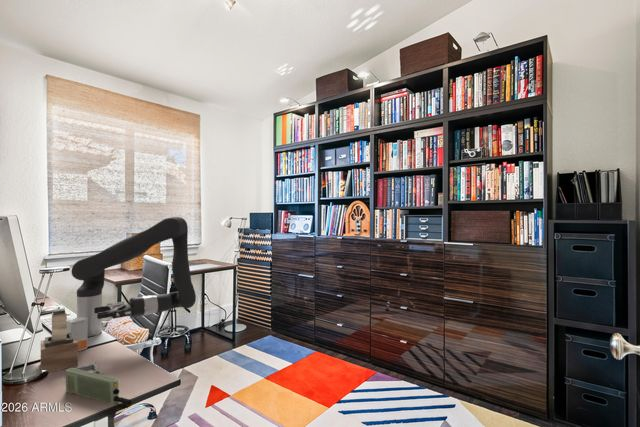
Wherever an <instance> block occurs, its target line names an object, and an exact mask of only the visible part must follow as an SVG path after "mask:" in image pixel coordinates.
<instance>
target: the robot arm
mask: <svg viewBox="0 0 640 427" xmlns="http://www.w3.org/2000/svg"><path fill="white" fill-rule="evenodd" d="M188 228H189V227H188V222H187V221H186V219H184V218H183V217H181V216H168V217H165V218H164V219H162V220H160V221H158V222H157V223H156V224H154V225H152V226H151V227H149V228H147V229H145V230H142V231H139V232H137V233H136V234H133V235H131V236H128V237H126V238H124V239H122V240H119V242H116V243H114V244H112V245H110V246H109V247H107V248H105V249H104V250H102V251H100V252H98V253H96V254H94V255H91V256H88V257H85V258H82V259H80V260H78V261H76V262H75V263H74V264H73V265H72V268H71V276H72V277H73V278H74V279H75V280H78V281H83V282H82V284H81V286H80V287H79V288H77V289H76V318H80V317H84V318H87V319H88V335H87V338H89V337H90V338H91V337H93V336H98V335H100V334H102V331H103V319H107V318H110V319H119V318H120V319H121V318H124V317H130V318H137V317H142V316H147V315H148V316H149V315H152V314H153V315H154V314H156V313H162V312H167V311H169V310H171V309H172V310H173V309H176V308H177V309H178V308H184V309H190V308H192V307H193V306H194V305H195V303H196V300H197V296H196V291H195V288H194V284H193V283H192V276H191V270H190V264H189V253H188V252H189V250H188V247H189V244H188V238H189V237H188V234H189V233H188V231H189V230H188ZM170 239H171V240H172V244H173V245H172V246H173V254H172V262H171V273H172V281H173V284H174V286H175V288H177V291H174V292H170V293H161V294H155V295H151V294H150V295H144V296H136V297H130V298H129V300H128V302H127V303H125V301H118V302H111V303H106V305H103V289H104V286H105V276H106V271H105V270H106V269H108V268H113V267H114V266H117V265H120V264H124V263H127V262H130V261H132V260H135V258H138V257H139V256H140V257H141V256H142V255H143V254H145V253H146V252H147V251H148V250H150V249H151V248H152V247H154V246H155V245H157V244H160V243H163V242H165V241H168V240H170Z"/></svg>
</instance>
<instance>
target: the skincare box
mask: <svg viewBox="0 0 640 427" xmlns="http://www.w3.org/2000/svg"><path fill="white" fill-rule="evenodd" d="M68 333H72V335H75V336H76V339H77V342H78V352H80V351H83V350H87V349H88V337H87V335H88V319H87V318H84V317H80V318H77V317H75V318H71V319H67V334H68Z"/></svg>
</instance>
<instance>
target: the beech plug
mask: <svg viewBox="0 0 640 427" xmlns="http://www.w3.org/2000/svg"><path fill="white" fill-rule="evenodd" d="M67 318H68V317H67V310H66V309H65V307H63V308H56V309H53V311H52V313H51V337H52V342H56V341H61V340H66V339H67V320H68V319H67Z"/></svg>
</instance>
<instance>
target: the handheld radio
mask: <svg viewBox="0 0 640 427" xmlns="http://www.w3.org/2000/svg"><path fill="white" fill-rule="evenodd" d="M75 368H76V367H68V369H67V368H66V370H65V375H64V376H65V391H66V392H67V393H70V394H75V395H78V396H81V397H85V398H89V399H93V400H95V401H99V402H103V403H106V404H109V403H110V404H109V405H115V404H116V405H117V404H119V403H121V404H124V405H127V406H130V405H132V400H133V399H129V398H125V397H121V396H119V394H120V389H119V385H120V383H119V381H120V379H119V378H116V377H112V376H108V375H104V374H100V373H99V374H96V373H92V372H93V371H88V370H80V369H75Z"/></svg>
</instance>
